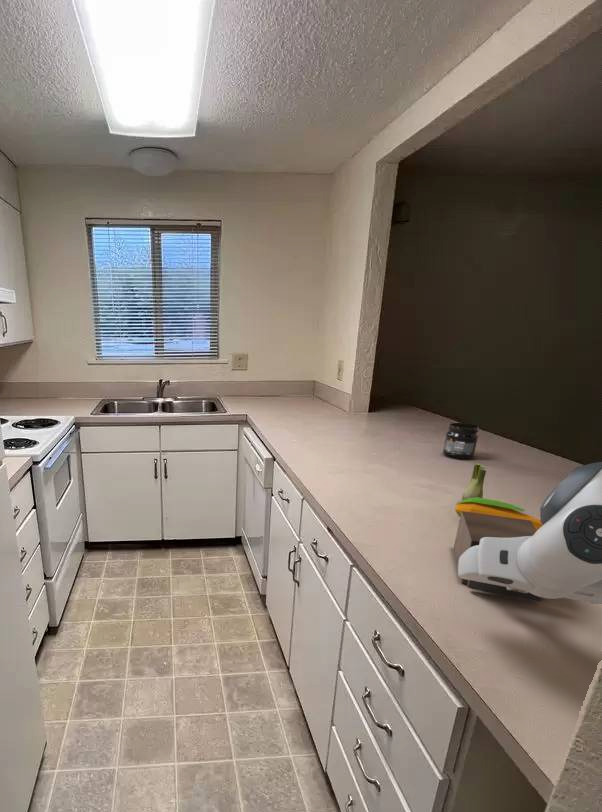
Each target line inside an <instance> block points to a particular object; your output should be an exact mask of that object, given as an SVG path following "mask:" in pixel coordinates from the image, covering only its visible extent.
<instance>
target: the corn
mask: <svg viewBox="0 0 602 812" xmlns="http://www.w3.org/2000/svg"><path fill="white" fill-rule="evenodd" d="M454 511H455V513H456V514H457V516H459V518H460V517H461V513H462V511H465V512H472V513H479V514H487V515H494V516H501V517H508V518H515V519H522V520H529V521H531V522H532V524H533V525H534V527H535V528H536V530H538V529H539V528H540V527H542V526H543V525H542V523H541V519H539V518H536V517H534V516H531V515H528V514H526V513H523V512H525V511H526V509H523V508H521V507H519V506H516V505H514V504H510V503H507V502H502V501H499V500H494V499H489V498H479V497H475V498H468V499H464V500H462V499H461V500H460V501H459V502H457V503H456V504H455V508H454Z"/></svg>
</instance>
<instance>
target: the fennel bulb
mask: <svg viewBox="0 0 602 812" xmlns="http://www.w3.org/2000/svg"><path fill="white" fill-rule="evenodd" d="M486 473H487V469H486V467H485V466H483V465H481V464H480V463H478V462H477V463H474V465H473V470H472V473H471V478H470V481H469V482H468V485H467V487H466V489H465V490H464V491H463V493H462V496H461V501H462V500H464V499H468V498H475V497H479V498H483V497H484V481H485V477H486Z"/></svg>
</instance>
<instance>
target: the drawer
mask: <svg viewBox="0 0 602 812" xmlns="http://www.w3.org/2000/svg"><path fill="white" fill-rule="evenodd" d="M476 546H477V545H476ZM466 585H467V588H468V589H472V590H476V591H482V592H487V593H492V594H497V595H503V596H507V597H512V598H519V599H523V600H528V601H533V602H538V603H539V602H541V600H542V597H539V596H536V595H533V594H531V593H529V592H528V593H522V592H517V591H512V590H507V588H506V587H504V586H499V585H493V584H488V583H483V582H477V581H472V580H468V583H467V584H466Z"/></svg>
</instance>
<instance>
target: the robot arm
mask: <svg viewBox="0 0 602 812" xmlns="http://www.w3.org/2000/svg"><path fill="white" fill-rule="evenodd" d="M539 518H540V519H539V520H541V523H542V525H543V526H542V527H540V528H539V529H538V530H537V531H536V532H535V534H534V535H533V536H524V537H514V538H500V537H484V538H481V539H480V543H479V545H477V546H473V547H471V548H469V549H468V550H466V551H465V552H464V553H463V554H462V555H461V556H460V558H459V563H458V566H457V575H458V577H459V578H460V577H461V578H463V579H467V580H472V581H477V582H483V583H488V584H493V585H499V586H504V587H506V588H507V590H512V591H517V592H522V593H528V592H529V593H531V594H533V595H536V596H539V597H541V599H549V600H555V599H568V600H573V601H577V602H583V603H589V604H592V605H593V604H594V605H602V461H598V462H591V463H587V464H583V465H580V466H577V467H575V468H574V469H573V470H572V471H570V472H569V473H568V475H567V476H566V477H565V478H564V479H563V480H562V481H561V482H560V483H558V485H556V487H554V488H553V489H552V490H551V492H550V493H549V494H548V495H547V496H546V498H545V499H544V501H543V502H542V504H541V506H540V508H539Z"/></svg>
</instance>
